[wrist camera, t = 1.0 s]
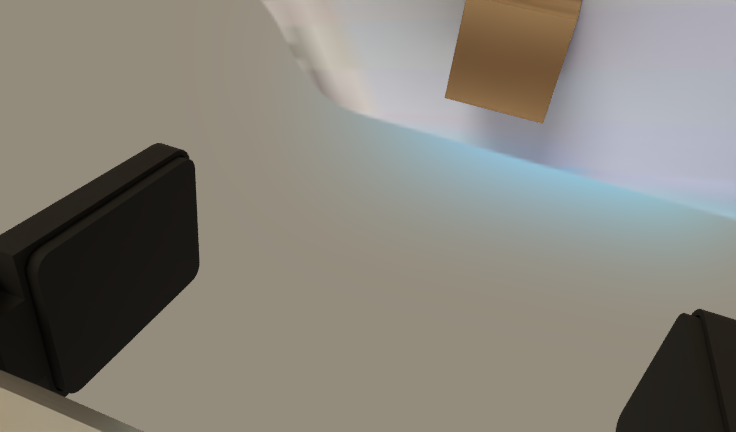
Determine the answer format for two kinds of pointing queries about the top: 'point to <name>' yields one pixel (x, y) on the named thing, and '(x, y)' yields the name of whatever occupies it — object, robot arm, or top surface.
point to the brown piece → (511, 54)
